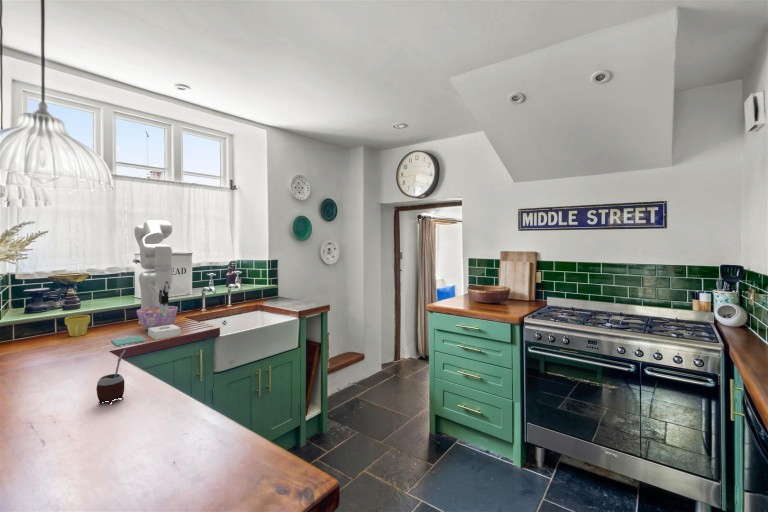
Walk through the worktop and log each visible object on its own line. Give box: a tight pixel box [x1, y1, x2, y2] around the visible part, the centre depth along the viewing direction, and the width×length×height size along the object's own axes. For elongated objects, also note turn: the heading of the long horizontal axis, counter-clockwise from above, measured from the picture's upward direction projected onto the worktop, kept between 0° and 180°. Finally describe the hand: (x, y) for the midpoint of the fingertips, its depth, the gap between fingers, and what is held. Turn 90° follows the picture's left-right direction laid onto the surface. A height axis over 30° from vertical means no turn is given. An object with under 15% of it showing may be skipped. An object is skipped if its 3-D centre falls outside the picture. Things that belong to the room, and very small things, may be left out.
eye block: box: [147, 323, 182, 341], centre depth 192 cm, size 12×12×4 cm
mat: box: [110, 335, 147, 347], centre depth 180 cm, size 12×12×1 cm
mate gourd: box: [95, 349, 127, 404], centre depth 114 cm, size 8×8×15 cm
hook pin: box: [160, 292, 168, 317], centre depth 192 cm, size 3×3×13 cm
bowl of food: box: [136, 305, 179, 330], centre depth 205 cm, size 20×20×12 cm
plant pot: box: [64, 314, 91, 337], centre depth 192 cm, size 10×10×10 cm
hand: (163, 302), depth 192 cm, fingers closed on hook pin, 3 cm apart
